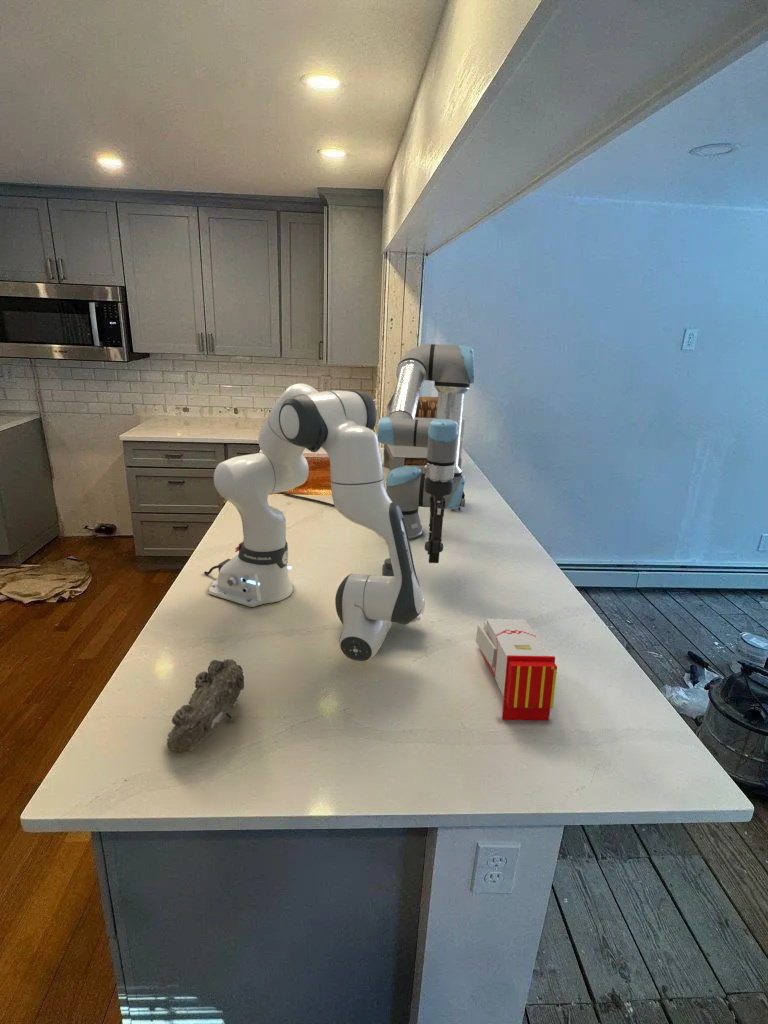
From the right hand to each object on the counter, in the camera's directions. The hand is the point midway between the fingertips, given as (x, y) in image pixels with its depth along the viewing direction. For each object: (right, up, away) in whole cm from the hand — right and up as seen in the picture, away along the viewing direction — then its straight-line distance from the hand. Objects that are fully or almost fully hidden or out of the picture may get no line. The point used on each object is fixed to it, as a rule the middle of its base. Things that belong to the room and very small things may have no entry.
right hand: (433, 558), depth 159 cm
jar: (-12, -13, -11) cm, 21 cm away
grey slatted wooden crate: (+4, +32, +116) cm, 121 cm away
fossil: (-46, -26, -51) cm, 74 cm away
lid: (0, +4, -1) cm, 4 cm away
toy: (+13, -23, -35) cm, 44 cm away
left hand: (-12, -7, -12) cm, 18 cm away
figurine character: (+15, +15, +71) cm, 74 cm away
